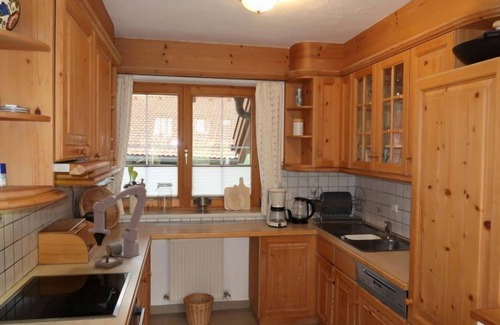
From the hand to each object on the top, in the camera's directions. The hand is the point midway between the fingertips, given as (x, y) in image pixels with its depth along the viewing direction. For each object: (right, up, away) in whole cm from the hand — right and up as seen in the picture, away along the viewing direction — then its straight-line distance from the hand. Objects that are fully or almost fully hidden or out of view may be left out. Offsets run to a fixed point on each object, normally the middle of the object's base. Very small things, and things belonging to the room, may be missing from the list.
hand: (99, 245), depth 222 cm
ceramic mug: (+5, -9, +14) cm, 17 cm away
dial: (+8, -8, -7) cm, 13 cm away
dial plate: (+8, -10, -7) cm, 14 cm away
